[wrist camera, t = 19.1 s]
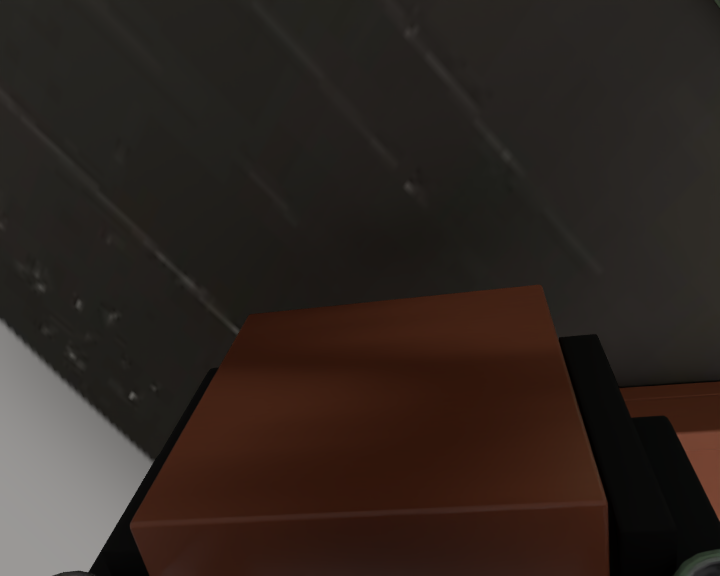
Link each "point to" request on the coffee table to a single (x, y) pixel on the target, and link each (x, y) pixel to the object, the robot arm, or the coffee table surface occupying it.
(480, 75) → the coffee table surface
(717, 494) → the terracotta tray
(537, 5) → the coffee table surface
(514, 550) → the block
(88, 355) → the coffee table surface
